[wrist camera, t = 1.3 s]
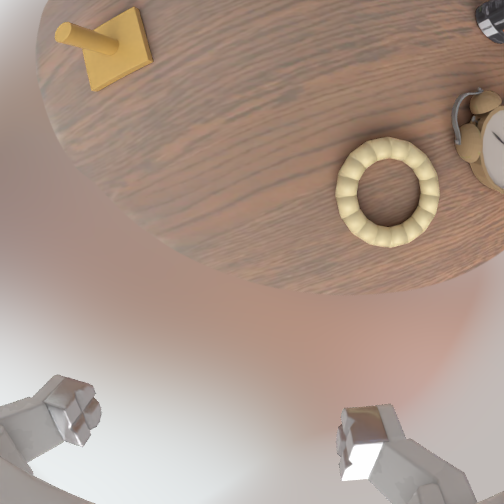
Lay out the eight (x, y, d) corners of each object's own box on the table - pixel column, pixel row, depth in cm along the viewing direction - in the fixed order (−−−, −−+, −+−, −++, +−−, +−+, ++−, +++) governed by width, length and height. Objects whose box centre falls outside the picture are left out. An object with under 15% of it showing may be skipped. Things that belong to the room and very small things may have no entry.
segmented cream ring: (423, 129, 31) (431, 129, 28) (439, 230, 35) (447, 236, 32) (323, 150, 34) (324, 150, 31) (347, 253, 38) (349, 260, 35)
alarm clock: (517, 212, 29) (452, 146, 26) (495, 200, 33) (428, 140, 30) (546, 143, 25) (485, 66, 22) (523, 136, 29) (461, 68, 26)
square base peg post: (139, 9, 29) (91, -20, 19) (153, 61, 32) (103, 42, 21) (86, 40, 31) (31, 25, 21) (97, 91, 34) (39, 86, 24)
